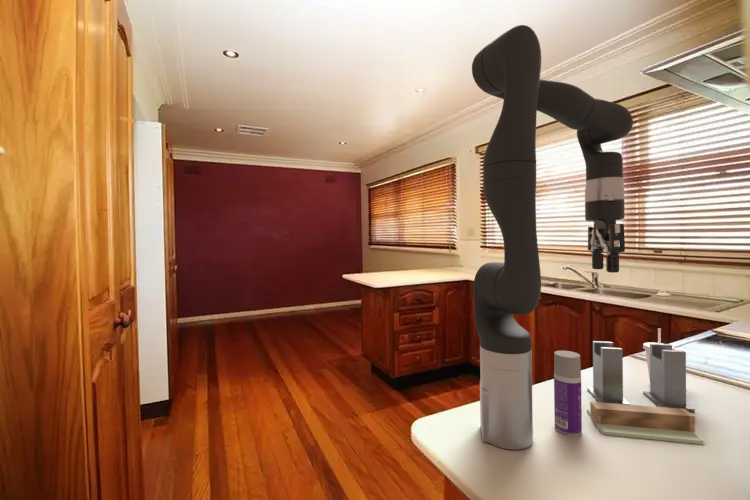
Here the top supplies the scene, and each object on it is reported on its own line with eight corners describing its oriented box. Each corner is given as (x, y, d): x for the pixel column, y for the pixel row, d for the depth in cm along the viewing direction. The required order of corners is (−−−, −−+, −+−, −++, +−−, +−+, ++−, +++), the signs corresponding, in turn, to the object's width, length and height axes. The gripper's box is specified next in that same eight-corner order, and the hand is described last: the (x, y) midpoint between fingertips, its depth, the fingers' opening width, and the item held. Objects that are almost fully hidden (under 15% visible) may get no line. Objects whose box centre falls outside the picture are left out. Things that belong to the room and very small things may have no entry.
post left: (599, 404, 79) (599, 349, 78) (587, 389, 86) (586, 339, 86) (630, 406, 77) (629, 350, 77) (614, 391, 85) (614, 340, 85)
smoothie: (679, 383, 89) (678, 329, 89) (670, 390, 85) (669, 333, 85) (648, 376, 94) (648, 324, 94) (639, 382, 90) (638, 328, 90)
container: (585, 437, 66) (584, 358, 66) (558, 435, 67) (557, 357, 66) (576, 424, 70) (575, 350, 70) (551, 422, 71) (550, 349, 71)
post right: (661, 409, 76) (661, 352, 76) (643, 393, 84) (642, 342, 83) (694, 411, 74) (694, 353, 74) (672, 395, 82) (672, 343, 82)
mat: (603, 434, 67) (603, 431, 67) (586, 412, 75) (586, 409, 75) (703, 444, 63) (703, 440, 63) (674, 419, 71) (674, 416, 71)
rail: (596, 423, 70) (596, 408, 69) (590, 416, 72) (590, 401, 72) (694, 432, 66) (694, 416, 66) (684, 424, 69) (684, 408, 68)
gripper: (575, 203, 87) (576, 268, 87) (597, 196, 73) (598, 273, 74) (609, 202, 85) (610, 268, 86) (638, 194, 72) (639, 273, 72)
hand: (604, 270), depth 80 cm, fingers open, 8 cm apart
